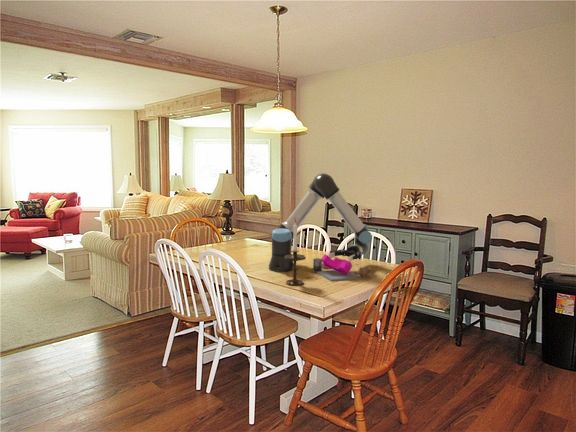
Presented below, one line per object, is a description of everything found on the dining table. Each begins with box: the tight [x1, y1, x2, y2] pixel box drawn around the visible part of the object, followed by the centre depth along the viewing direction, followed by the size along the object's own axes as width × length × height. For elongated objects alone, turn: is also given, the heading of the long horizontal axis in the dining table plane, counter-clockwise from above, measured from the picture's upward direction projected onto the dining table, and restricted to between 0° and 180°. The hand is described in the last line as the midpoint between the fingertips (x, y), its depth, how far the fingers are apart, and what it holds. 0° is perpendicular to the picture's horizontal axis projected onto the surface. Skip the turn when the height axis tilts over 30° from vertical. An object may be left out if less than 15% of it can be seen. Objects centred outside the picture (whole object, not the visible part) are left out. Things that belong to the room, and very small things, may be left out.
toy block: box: [320, 254, 353, 275], centre depth 234 cm, size 15×6×8 cm
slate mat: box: [316, 269, 362, 282], centre depth 234 cm, size 18×18×1 cm
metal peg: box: [312, 257, 323, 273], centre depth 244 cm, size 5×5×7 cm
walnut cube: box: [359, 266, 373, 280], centre depth 231 cm, size 5×5×5 cm
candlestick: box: [285, 218, 306, 287], centre depth 215 cm, size 11×11×35 cm
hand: (339, 257), depth 234 cm, fingers closed on toy block, 12 cm apart
